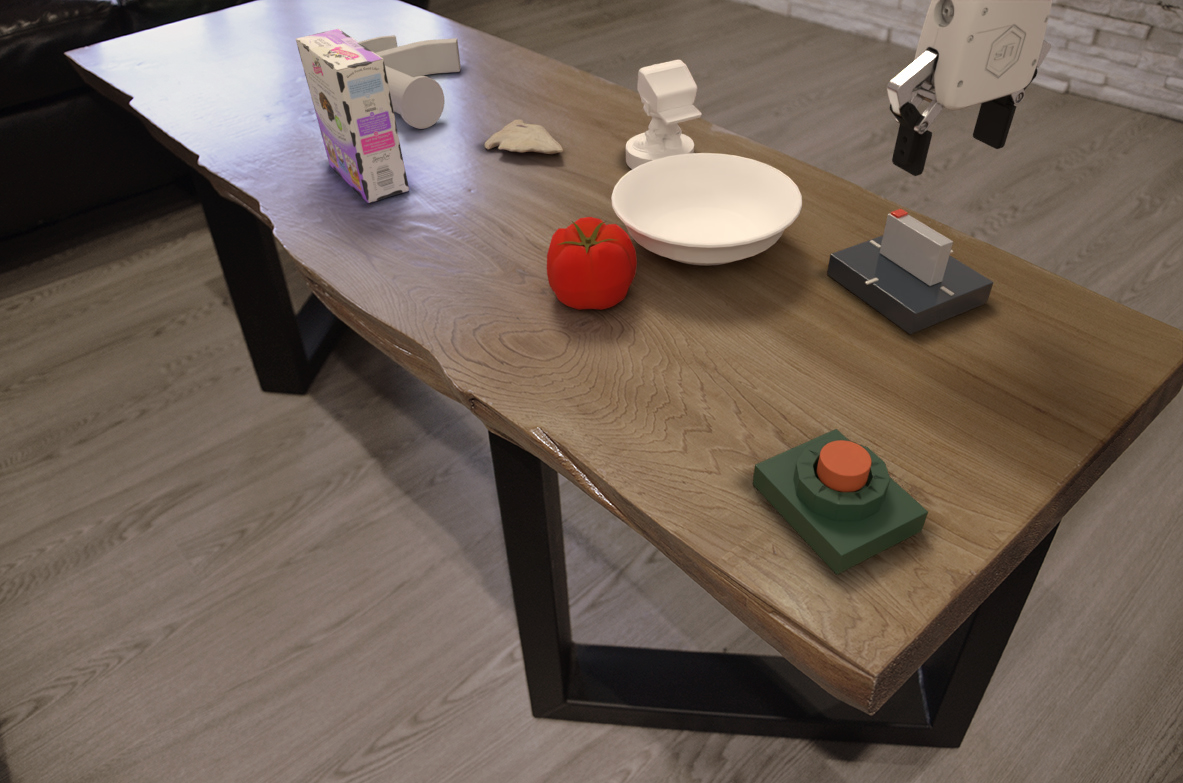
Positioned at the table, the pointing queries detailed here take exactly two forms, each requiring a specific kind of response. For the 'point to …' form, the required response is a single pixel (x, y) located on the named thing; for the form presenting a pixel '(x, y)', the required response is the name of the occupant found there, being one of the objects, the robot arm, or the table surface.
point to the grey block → (915, 247)
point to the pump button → (843, 466)
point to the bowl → (706, 207)
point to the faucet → (416, 75)
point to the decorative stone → (524, 139)
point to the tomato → (591, 264)
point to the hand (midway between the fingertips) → (947, 155)
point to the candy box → (354, 113)
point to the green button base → (838, 505)
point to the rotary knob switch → (907, 287)
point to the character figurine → (664, 112)
